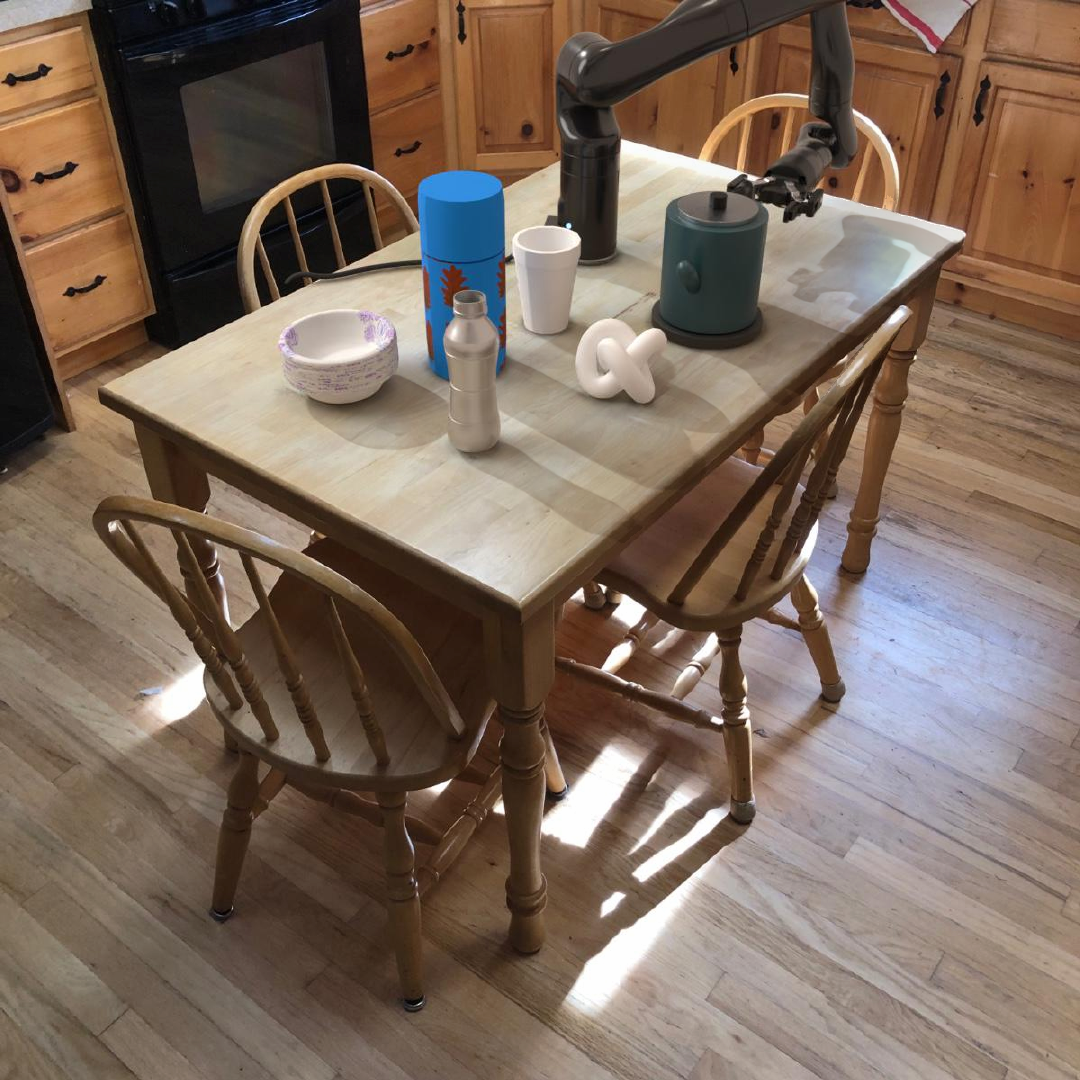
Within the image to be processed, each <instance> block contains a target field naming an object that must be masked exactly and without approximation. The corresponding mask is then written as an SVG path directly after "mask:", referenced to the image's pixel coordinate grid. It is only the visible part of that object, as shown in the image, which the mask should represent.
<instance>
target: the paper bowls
mask: <svg viewBox="0 0 1080 1080" xmlns="http://www.w3.org/2000/svg"><path fill="white" fill-rule="evenodd" d="M277 346H278V352H279V359H280V364H281V369H282V372H283V376H284V379H285V380H286V382H288V383H289V385H291V386H292V387H293V388H296V389H297V390H299V391H301V392H304V393H306V395H307V396H309V397H310V398H312V399H313V400H316V401H318V402H321V403H325V404H332V405H345V404H353V403H356V402H360V401H362V400H363V401H364V400H366V399H367V398H369V397H371V396H373V395H374V394H376V393H377V392H378V391H379V389H381V387H382V385H383V384H384V383H385V382H386V381H388V380H389V379H390V378H391V377H392V376H394V374H395V373H396V372H397V369H398V368H399V363H400V362H399V361H400V358H399V357H400V356H399V347H398V336H397V331H396V328H395V326H394V324H393V323H392V322H391V321H390V320H389V319H387V317H384V316H382V315H381V314H379V313H376V312H373V311H369V310H364V309H357V308H356V309H355V308H338V309H327V310H322V311H317V312H315V313H311V314H308V315H305V316H303V317H301V318H298V319H297V320H294V321H293V322H292V323H290V324H289V325H287V326H286V327H285V329H283V330H282V332H281V334H280V335H279V338H278V341H277Z"/></svg>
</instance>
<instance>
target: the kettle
mask: <svg viewBox="0 0 1080 1080" xmlns="http://www.w3.org/2000/svg"><path fill="white" fill-rule="evenodd" d="M749 180H750V179H747V180H744V181H742V182H741V183H740V184H739V185H738V186H737V187H736V188H735V189H734V190H733V191H732V192H726V191H723V190H702V191H695V192H692V193H688V194H686V195H685V194H684V195H682V196H679V197H677V198H674V199H673V200H671V201H669V203H668V204H667V206H666V207H665V216H664V217H665V219H664V220H665V221H664V232H663V246H662V261H661V275H660V276H661V277H660V287H659V299H660V301H659V312H660V315H661V316H662V317H663V319H664V320H666V321H667V322H668V323H670V324H671V325H673V326H675V327H678V328H680V329H683V330H687V331H691V332H696V333H703V334H723V333H730V332H735V331H738V330H741V329H744V328H746V327H747V326H749V325H750V324H752V323H753V321H754V320H755V318H756V314H757V306H758V307H759V297H760V289H761V282H762V281H761V280H762V274H763V264H764V258H765V257H764V256H765V250H766V241H767V233H768V225H769V219H770V213H769V210H768V209H767V207H765V206H764V204H760V203H759V202H757V201H755V200H752V199H753V190H754V186H753V183H752V182H751V181H752V180H751V181H749Z"/></svg>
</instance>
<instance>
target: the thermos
mask: <svg viewBox="0 0 1080 1080" xmlns="http://www.w3.org/2000/svg"><path fill="white" fill-rule="evenodd" d="M503 187H504V186H503V184H502V181H501V180H500V179H499V178H497V177H496V176H494V175H492V174H490V173H489V174H488V173H485V172H481V171H474V170H451V171H445V172H444V171H443V172H439V173H435V174H431V175H430V176H428V177H426V178H424V179H422V180H421V182H420V183H419V185H418V192H417V206H418V224H419V238H420V239H419V240H420V241H419V242H420V255H421V260H422V265H421V270H422V271H421V272H422V285H423V286H422V287H423V288H422V289H423V305H424V321H425V337H426V344H427V353H428V362H429V369H430V370H431V371H432V372H433V374H435V375H436V376H438V377H440V378H441V379H444V380H448V381H450V379H449V370H448V364H447V359H446V354H445V348H444V342H443V338H444V334H445V330H446V329H447V327H448V326H449V324H450V322H451V321H452V320H453V318H454V317H455V316H456V315H455V314H454V313H453V306H454V304H453V297H454V295H455V294H456V293H458V292H460V291H465V290H476V291H480V292H482V293H484V294H485V296H486V305H487V313H486V314H485V315H486V316H487V317H488V318H489V319H490V320H491V321H492V323H493V324H494V325H495V327H496V328H497V331H498V334H499V337H500V342H499V351H498V357H497V364H496V375H498V374H499V373H500V372H502V371H503V369H504V367H505V365H506V357H507V285H506V284H507V283H506V279H507V278H506V277H507V276H506V263H505V257H506V220H505V219H506V218H505V217H506V213H505V212H506V211H505V208H506V207H505V195H504V188H503Z"/></svg>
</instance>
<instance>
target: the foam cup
mask: <svg viewBox="0 0 1080 1080" xmlns="http://www.w3.org/2000/svg"><path fill="white" fill-rule="evenodd" d="M511 241H512V242H511V243H512V252H513V257H514V259H513V260H514V265H515V271H516V277H517V285H518V292H519V293H518V294H519V299H520V305H521V312H522V313H521V314H522V319H523V320H522V321H523V325H524V327H525V329H527V331H530V332H531V333H534V334H535V333H536V334H538V335H539V334H540V335H553V334H558V333H561V332H563V331H564V330H566V329H567V327H568V325H569V320H570V314H571V308H572V301H573V295H574V290H575V289H574V288H575V284H576V283H575V282H576V277H577V270H578V265H579V264H578V260H579V257H580V255H581V239H580V237H579V236H578V234H577V233H576V232H573V231H571V230H569V229H567V228H562V227H557V226H544V225H537V226H531V227H526V228H524V229H522V230H520V231H517V232H516V233H515V234H514V236H513V237H512V239H511Z"/></svg>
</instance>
